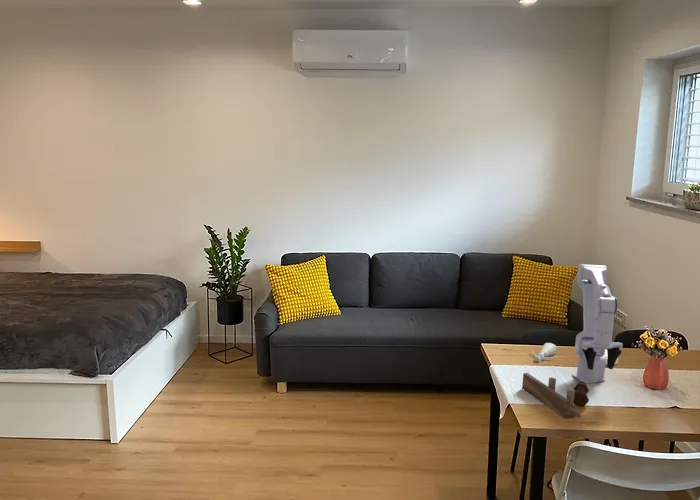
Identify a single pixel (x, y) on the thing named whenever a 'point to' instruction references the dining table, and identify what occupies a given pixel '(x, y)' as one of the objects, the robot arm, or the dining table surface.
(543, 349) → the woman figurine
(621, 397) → the dining table surface
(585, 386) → the dark brown elongated lump
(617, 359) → the mooncake
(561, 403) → the peg rack
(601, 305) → the robot arm
